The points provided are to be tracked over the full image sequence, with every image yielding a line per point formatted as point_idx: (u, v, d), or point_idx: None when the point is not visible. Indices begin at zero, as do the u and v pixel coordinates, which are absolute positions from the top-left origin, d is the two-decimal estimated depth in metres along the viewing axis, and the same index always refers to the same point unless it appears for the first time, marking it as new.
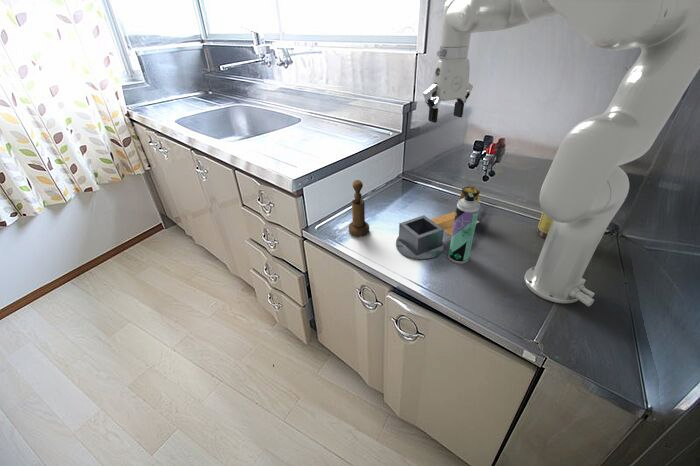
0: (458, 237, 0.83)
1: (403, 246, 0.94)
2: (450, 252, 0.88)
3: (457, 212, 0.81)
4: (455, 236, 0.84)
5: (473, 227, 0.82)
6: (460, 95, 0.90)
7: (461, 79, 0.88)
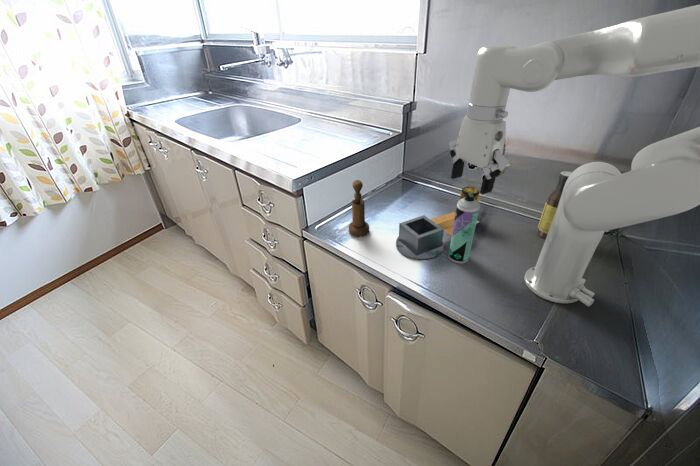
0: (458, 237, 0.83)
1: (403, 246, 0.94)
2: (450, 252, 0.88)
3: (457, 212, 0.81)
4: (455, 236, 0.84)
5: (473, 227, 0.82)
6: None
7: None
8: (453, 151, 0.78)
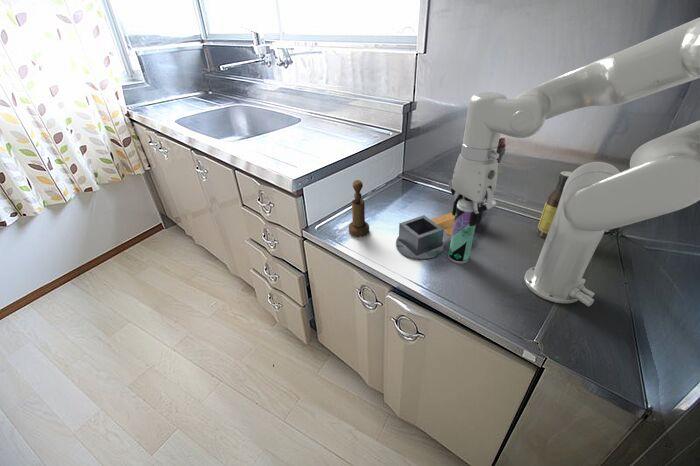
0: (458, 237, 0.83)
1: (403, 246, 0.94)
2: (450, 252, 0.88)
3: (457, 212, 0.81)
4: (455, 236, 0.84)
5: (473, 227, 0.82)
6: None
7: None
8: (454, 190, 0.83)
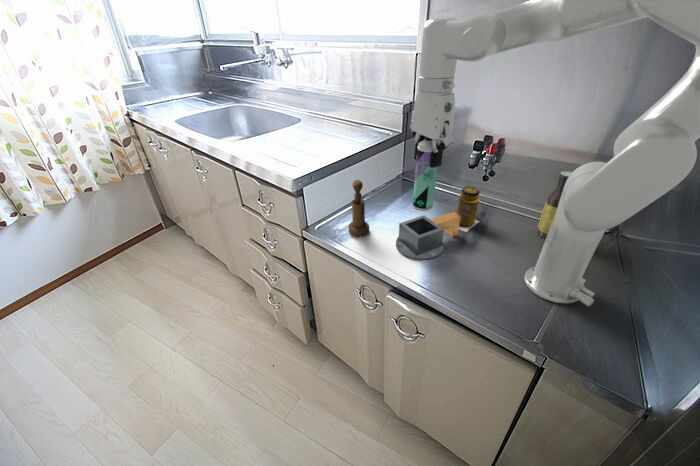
0: (420, 182, 0.81)
1: (403, 246, 0.94)
2: (413, 200, 0.86)
3: (418, 154, 0.79)
4: (417, 181, 0.82)
5: (434, 170, 0.79)
6: None
7: None
8: (415, 132, 0.80)
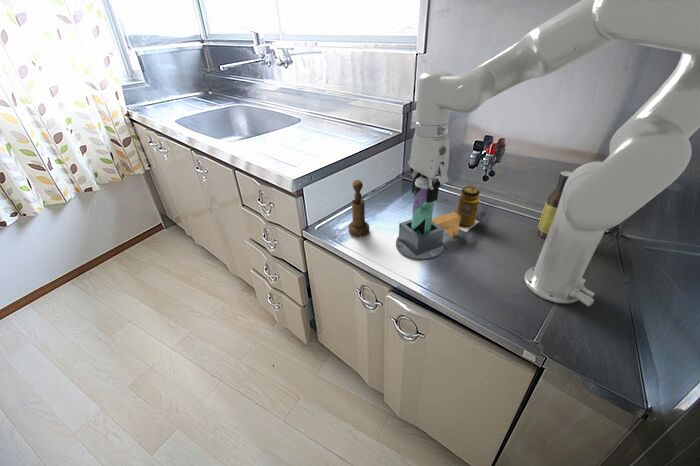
0: (417, 214, 0.87)
1: (403, 246, 0.94)
2: None
3: (415, 189, 0.84)
4: (415, 213, 0.87)
5: (431, 204, 0.85)
6: None
7: None
8: (413, 168, 0.86)
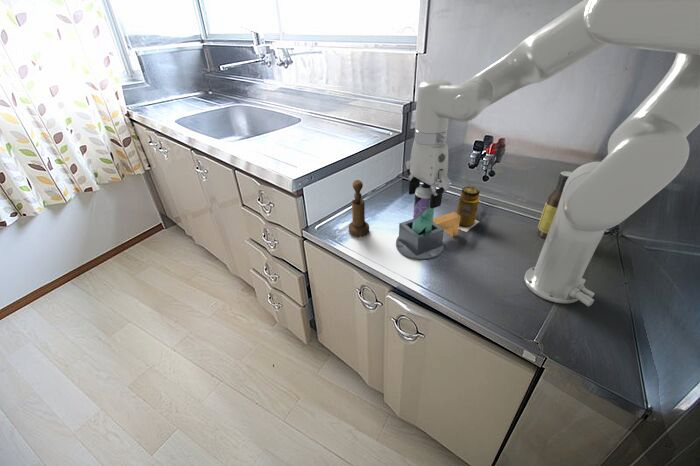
0: (418, 223, 0.88)
1: (403, 246, 0.94)
2: None
3: (415, 199, 0.86)
4: (415, 222, 0.89)
5: (431, 213, 0.86)
6: None
7: None
8: (409, 170, 0.87)
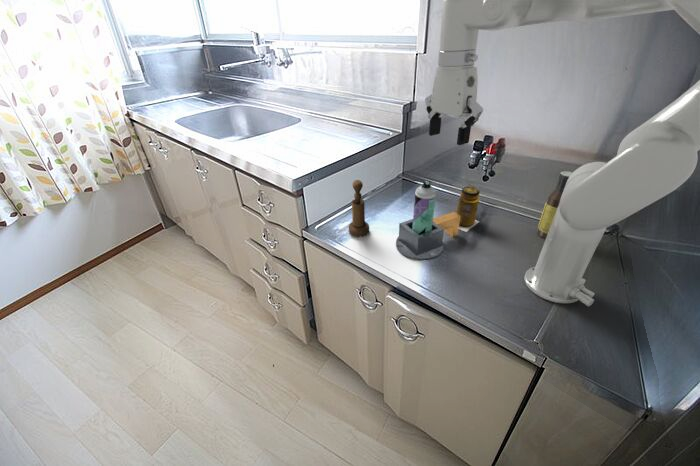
0: (418, 223, 0.88)
1: (403, 246, 0.94)
2: None
3: (415, 199, 0.86)
4: (415, 222, 0.89)
5: (431, 213, 0.86)
6: None
7: None
8: (429, 107, 0.79)
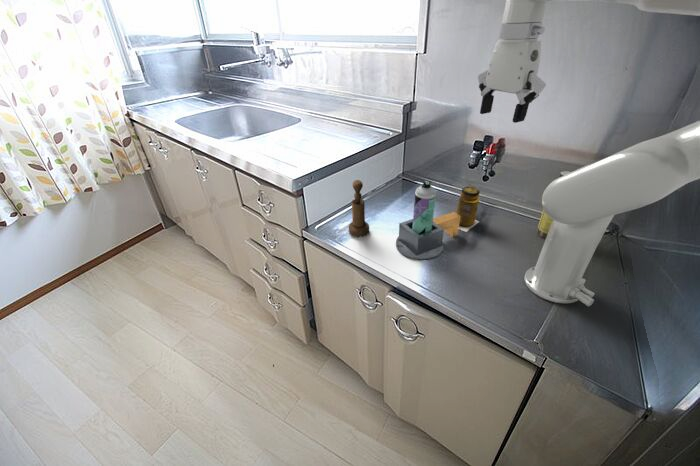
0: (418, 223, 0.88)
1: (403, 246, 0.94)
2: None
3: (415, 199, 0.86)
4: (415, 222, 0.89)
5: (431, 213, 0.86)
6: None
7: None
8: (482, 84, 0.77)
